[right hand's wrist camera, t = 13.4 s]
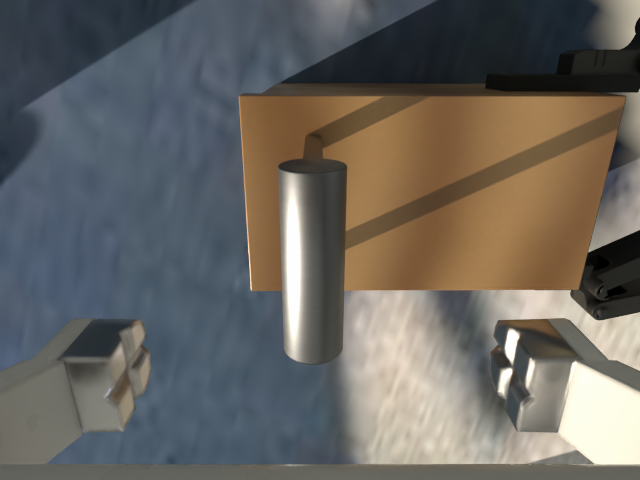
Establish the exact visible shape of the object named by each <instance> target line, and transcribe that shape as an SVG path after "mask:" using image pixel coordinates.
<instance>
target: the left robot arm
mask: <svg viewBox="0 0 640 480" xmlns="http://www.w3.org/2000/svg"><path fill="white" fill-rule="evenodd" d="M635 33H636V35H635V36H634V38H633V40H632V41H631V43H630V44H629V45H628V46H626V47H625V48H623V49H621V50H570V51H567V52H565V53H562V54H560V57H559V62H558V68H557V73H556V74H487V78H486V85H485V88H487V89H493V90H499V91H505V92H638V91H639V89H640V18H639V19H638V21H637V22H636V25H635ZM570 295H571V297H572V298H573V299H574V300H575V301H576V302H577V303H578V304H579V305H580V306H581V307H582V308H583V309H584V310H585V311H587V312H588V313H589V314H590V315H591V316H592V317H593V318H594V319H596V320H605V319H610V318H614V317H619V316H624V315H629V314H633V313H638V312H640V230H639V231H637V232H634V233H632V234H630V235H628V236H625V237H623V238H621V239H619V240H616V241H614V242H612V243H609V244H607V245H605V246H603V247H600V248H598V249H596V250H593V251H591V252H589V253H588V254H587V258H586V262H585V266H584V270H583V274H582V278H581V282H580V286H579V289H578V290H571V293H570Z"/></svg>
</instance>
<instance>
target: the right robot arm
mask: <svg viewBox="0 0 640 480" xmlns="http://www.w3.org/2000/svg"><path fill="white" fill-rule="evenodd" d="M145 338H146V331H145V327H144V323H143V322H142V321H141V320H136V319H95V318H91V319H73V320H70V321H69V322H68V323H67V324H66V325H65V326H64V327H63V328H62V329H61V330H60V331H59V332H58V333H57V334H56V335H55V336H54V337H53V338H52V339H51V340H50V341H49V342H48V343H47V344H46V346H45V347H44V348H43V349H42V350H41V351H40V352H39V353H38V354H37V355H36V356H35V357H34V358H33V359H32V360H28V361H21V362H19V363H17V364H15V365H13V366H10V367H8V368H6V369H4V370H2V371H0V480H640V371H638V370H636V369H634V368H632V367H630V366H627V365H625V364H623V363H621V362H619V361H613V360H608V359H607V358H606V357H605V356H604V355H603V354H602V353H601V352H600V351H599V350H598V349H597V347H596V346H595V345H594V344H593V343H592V342H591V341H590V340H589V339H588V338H587V337H586V336H585V335H584V334H583V333H582V332H581V331H580V330H579V329H578V328H577V327H576V326H575V325H574V324H573V323H572V322H571V321H570V320H568V319H565V318H558V319H529V320H498V322H497V324H496V326H495V331H494V338H495V339H496V341H497V342H498V344H499V345H498V346H497V347H496V348H495V349H494V350H493V351H492V352H491V354H490V362H489V370H490V378H491V382H492V385H493V387H494V389H495V391H496V393H497V394H498V395H499V396H501V397H502V398H504V399H505V400H506V403H505V410H506V412H507V414H508V416H509V418H510V419H511V421H512V423H513V425H514V427H515V429H516V430H517V431H521V432H557V433H558V435H559V436H560V437H562V438H563V439H564V440H565V441H567V442H568V443H569V444H570V445H572V446H573V447H574V448H575V449H577V450H578V451H579V452H580V453H582V454H583V455H584V456H585V457H587V458H588V459H589V460H590V461H592V462H593V463H594V464H46V463H47V462H48V461H50V460H51V459H52V458H53V457H55V456H56V455H57V454H59V453H60V452H61V451H62V450H64V449H65V448H66V447H67V446H69V445H70V444H71V443H72V442H74V441H75V440H76V439H77V438H79V437H80V436H81V435H82V433H83V432H118V431H124V429H125V427H126V425H127V423H128V421H129V419H130V418H131V416H132V414H133V412H134V410H135V403H134V400H135V399H136V398H138V397H139V396H141V395H142V394H143V393H144V391H145V389H146V387H147V385H148V382H149V377H150V373H151V360H150V354H149V352H148V351H147V350H146V349H145V348H144V347H143V346H142V345H141V344H142V342H143V341H144V339H145Z"/></svg>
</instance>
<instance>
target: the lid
mask: <svg viewBox="0 0 640 480" xmlns="http://www.w3.org/2000/svg"><path fill="white" fill-rule="evenodd" d="M625 101H626V96H622V95H614V94H270V93H244V94H242V95H240V96H239V107H240V123H241V139H242V155H243V171H244V187H245V202H246V218H247V234H248V250H249V266H250V282H251V291H282V298H283V328H284V349H285V352H286V354H287V355H288V356H289V357H290V358H291V359H293V360H295V361H297V362H300V363H303V364H311V365H315V364H323V363H327V362H330V361H332V360H334V359H335V358H337V357H338V356H339V355H340V353H341V351H342V349H343V318H344V290H578V289H579V286H580V282H581V278H582V274H583V270H584V266H585V262H586V258H587V254H588V250H589V246H590V242H591V238H592V234H593V230H594V226H595V222H596V218H597V214H598V210H599V206H600V202H601V197H602V193H603V189H604V185H605V181H606V177H607V173H608V169H609V165H610V161H611V157H612V153H613V149H614V145H615V141H616V137H617V133H618V129H619V125H620V121H621V117H622V113H623V109H624V105H625Z"/></svg>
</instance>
